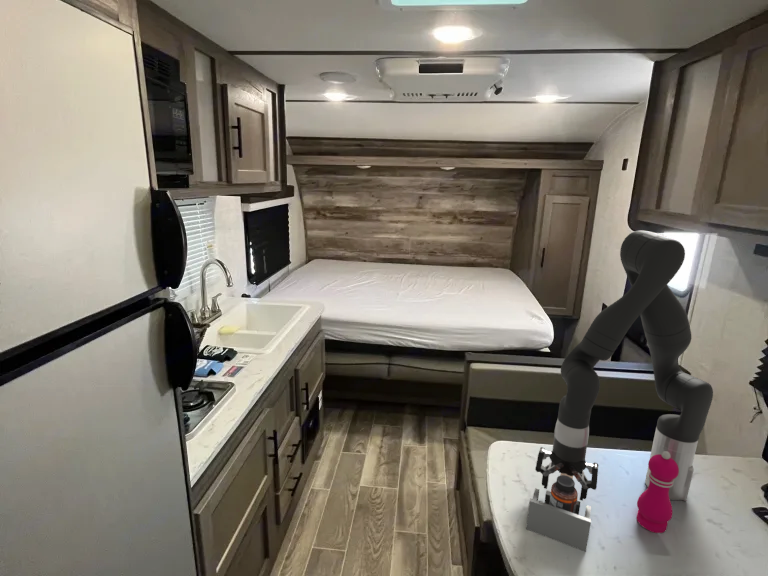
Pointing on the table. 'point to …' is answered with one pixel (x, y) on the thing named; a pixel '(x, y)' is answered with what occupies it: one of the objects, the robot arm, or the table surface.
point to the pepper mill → (657, 494)
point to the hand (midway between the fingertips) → (563, 492)
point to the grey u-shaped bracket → (558, 523)
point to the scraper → (547, 496)
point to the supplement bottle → (564, 494)
